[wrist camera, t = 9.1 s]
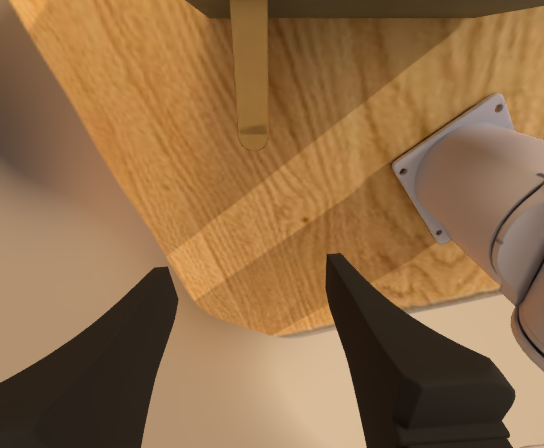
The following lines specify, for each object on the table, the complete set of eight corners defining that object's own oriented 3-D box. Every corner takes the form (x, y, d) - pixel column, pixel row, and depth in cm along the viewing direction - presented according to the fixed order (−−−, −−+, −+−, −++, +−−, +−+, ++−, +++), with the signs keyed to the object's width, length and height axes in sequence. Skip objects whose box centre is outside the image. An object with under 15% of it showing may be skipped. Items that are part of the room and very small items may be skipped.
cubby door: (444, 118, 20) (549, 154, 13) (218, 121, 19) (195, 160, 12) (478, 0, 16) (648, -42, 9) (207, 0, 16) (164, -44, 9)
